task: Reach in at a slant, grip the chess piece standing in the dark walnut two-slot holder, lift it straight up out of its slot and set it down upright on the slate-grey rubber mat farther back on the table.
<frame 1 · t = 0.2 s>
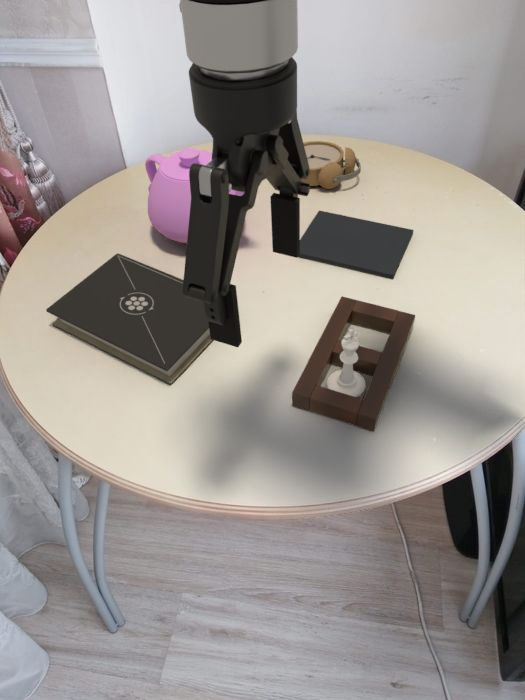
hand: (258, 293, 54), 19 cm above the table, tool pointing down, fingers open, 13 cm apart
holder: (355, 364, 72), on the table
chess piece: (345, 388, 70), resting in holder
book: (144, 321, 79), on the table
mat: (353, 244, 89), on the table
alarm clock: (320, 176, 104), on the table
teapot: (205, 231, 93), on the table
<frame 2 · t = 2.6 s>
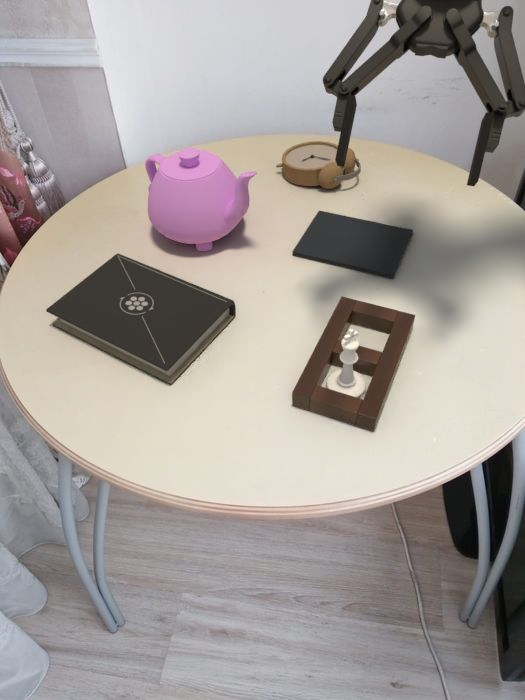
hand: (404, 173, 58), 24 cm above the table, tool tilted 40°, fingers open, 13 cm apart
nothing on the table moved.
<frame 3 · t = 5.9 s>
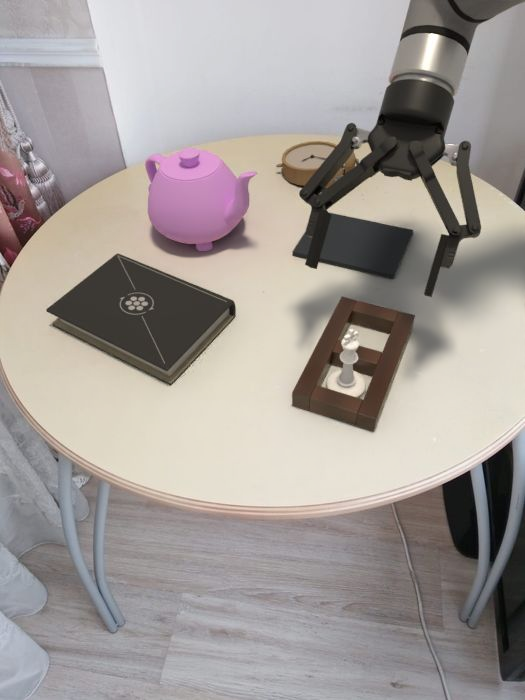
hand: (367, 281, 63), 13 cm above the table, tool tilted 45°, fingers open, 13 cm apart
nothing on the table moved.
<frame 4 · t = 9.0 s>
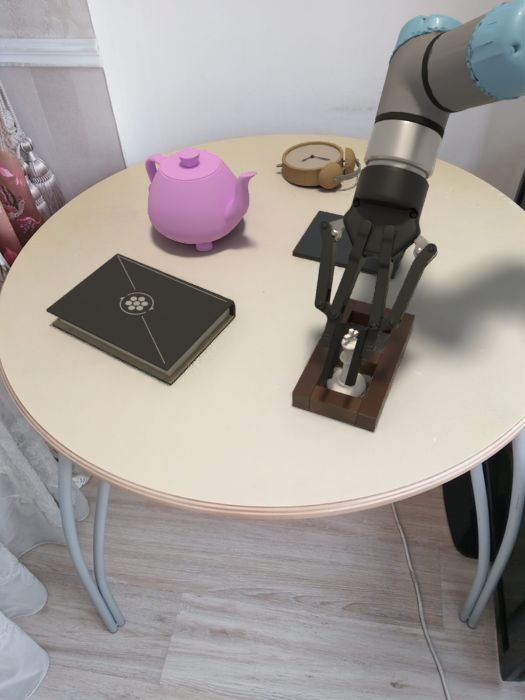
hand: (338, 381, 63), 6 cm above the table, tool tilted 45°, fingers closed on chess piece, 2 cm apart
chess piece: (345, 388, 70), resting in holder, touching gripper
everything else where it was.
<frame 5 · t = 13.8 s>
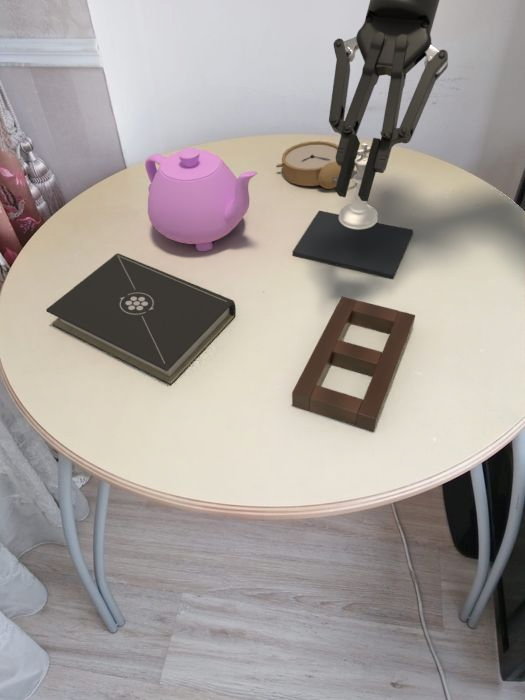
hand: (351, 195, 65), 18 cm above the table, tool tilted 45°, fingers closed on chess piece, 2 cm apart
chess piece: (357, 219, 72), point 13 cm above the table, touching gripper
everything else where it was.
when the fingers open (6 cm above the table, at t = 18.6 s): chess piece stays where it is, resting on mat.
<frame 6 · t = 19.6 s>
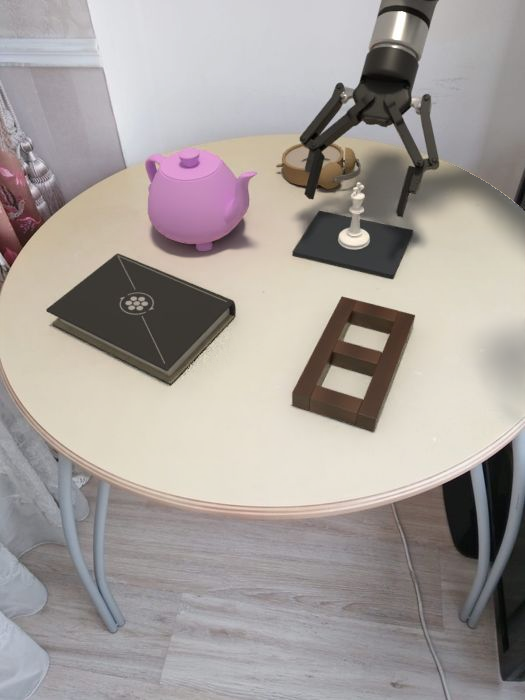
hand: (352, 205, 81), 9 cm above the table, tool tilted 45°, fingers open, 13 cm apart
chess piece: (353, 241, 89), point 1 cm above the table, touching mat
everything else where it was.
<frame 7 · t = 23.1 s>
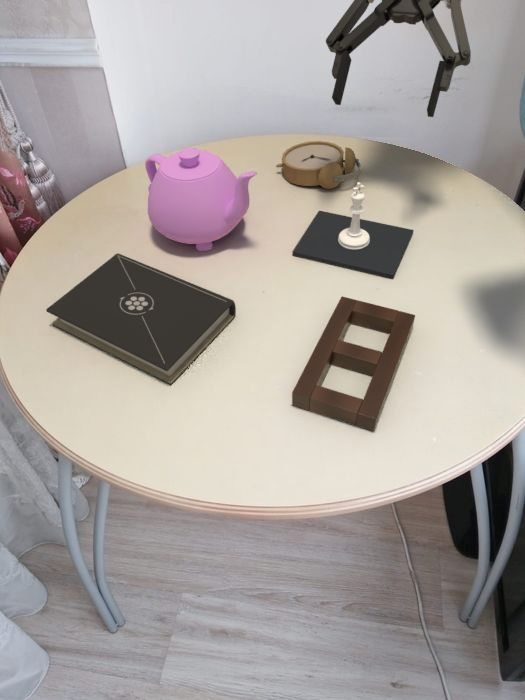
hand: (381, 107, 80), 19 cm above the table, tool tilted 45°, fingers open, 13 cm apart
nothing on the table moved.
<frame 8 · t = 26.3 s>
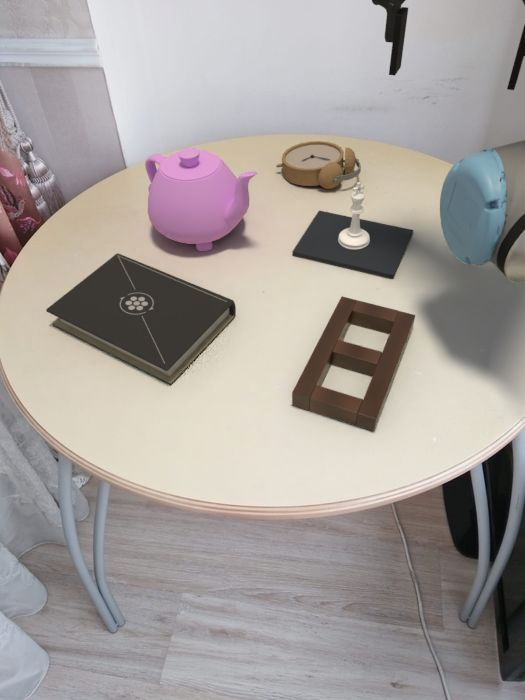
hand: (451, 78, 66), 27 cm above the table, tool pointing down, fingers open, 13 cm apart
nothing on the table moved.
at the end: chess piece inside the target area on the mat (0.1 cm from its centre), point 0.6 cm above the mat's base; chess piece tilted 0°; the gripper is holding nothing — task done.
